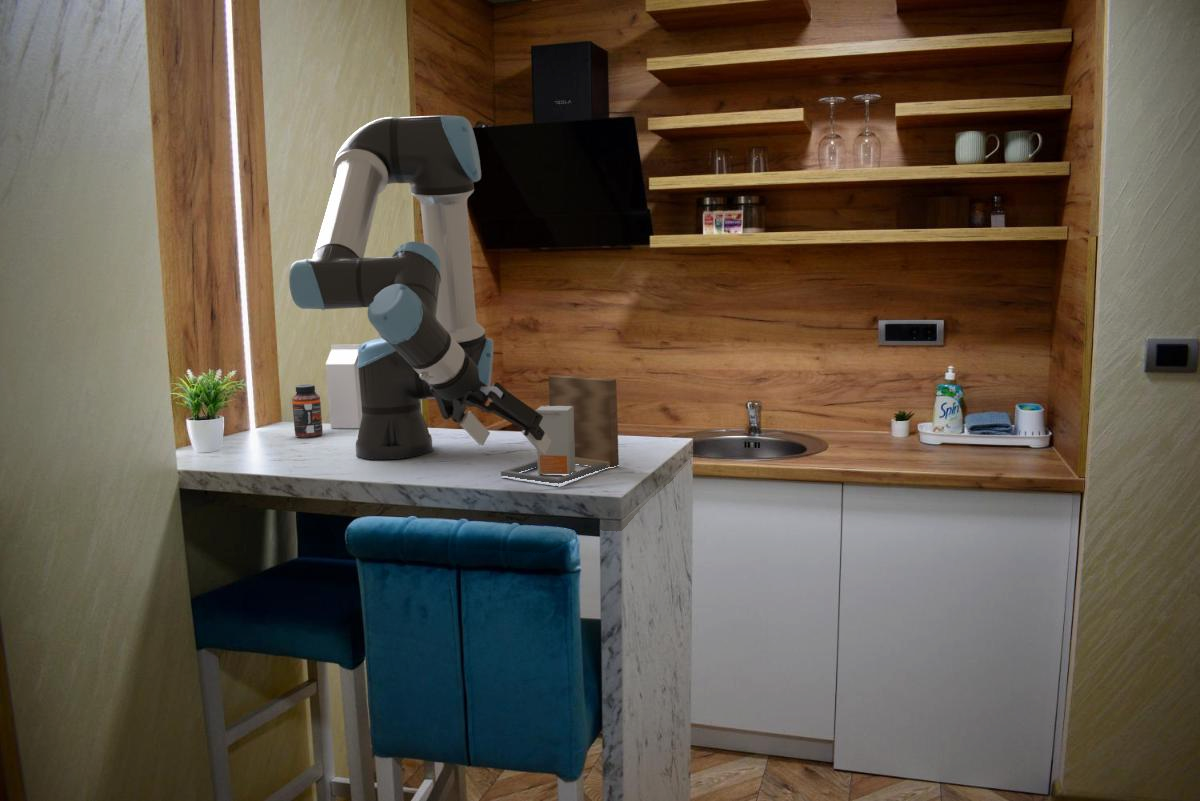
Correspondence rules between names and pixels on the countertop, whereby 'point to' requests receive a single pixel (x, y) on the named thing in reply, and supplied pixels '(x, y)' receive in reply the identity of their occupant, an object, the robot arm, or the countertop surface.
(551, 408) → the skincare box
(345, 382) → the milk carton
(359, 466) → the countertop surface
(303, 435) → the supplement bottle
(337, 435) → the countertop surface
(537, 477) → the grey rectangular frame
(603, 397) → the wall board
